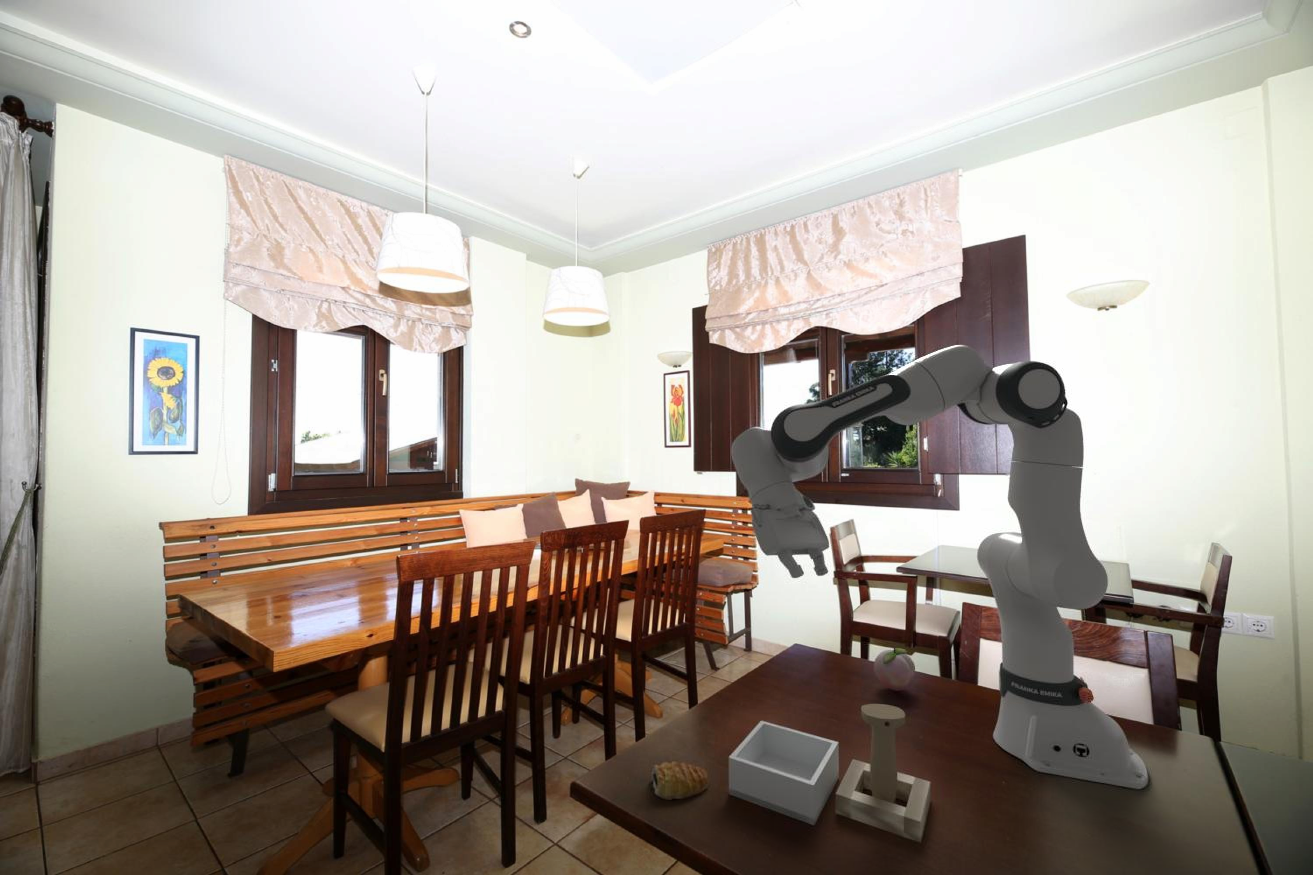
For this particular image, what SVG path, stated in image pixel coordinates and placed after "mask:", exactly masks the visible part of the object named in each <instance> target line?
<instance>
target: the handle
mask: <svg viewBox="0 0 1313 875" xmlns="http://www.w3.org/2000/svg"><path fill="white" fill-rule="evenodd" d="M860 708H861V709H860V710H861V711H860V714H861V718H862V719H863V721H864V722H865V723H867V724H868V725H870V727H871V741H870V742H871V743H870V757H869V758H870V761H869V764H870V781H871V789H872V790H871V793H872V794H871V796H872V797H875V798H878V799H881V800H884V801H887V802H891V803H894V804H897V802H896V799H897V798H896V793H897V772H898V767H897V764H898V763H897V752H896V736H895V734H896V729H897V728H899V727H902V726H904V725H905V724H906V713H905V711H904V710H903V709H901V708H900V707H897V706H894V705H890V704H886V703H885V704H883V703H868V704H864V705H862V706H861V707H860Z"/></svg>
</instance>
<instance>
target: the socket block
mask: <svg viewBox="0 0 1313 875" xmlns="http://www.w3.org/2000/svg"><path fill="white" fill-rule="evenodd" d="M864 789H866V790H870V791H872V789H871V781H870V763H867V762H865V761H861V760H858V759H854V758H853V759H852V760H851V762H850V763H849V766H848V768H847V770H846V771H845V774H844V776H843V778H842V779H841V782H840V783H839V786H838V788H837V790H836V792H835V814H837V815H840V816H843V817H845V818H849V819H852V820H854V821H858V822H860V823H863V824H866V825H868V826H871V827H874V828H877V829H880V830H883V831H885V832H886V831H887V832H888V833H891V834H895V835H897V836H901V837H903V838H906V839H909V840H911V841H914V842H917V843H920V844H921V843H922V840H923V835H924V831H925V828H926V823H927V822H926V821H927V818H928V813H929V808H930V804H931V798H932V797H931V781H930V780H927V779H922V778H919V777H916V776H912V775H909V774H905V773H903V772H898V771H897V793H896V798H895V799H899V800H900V801H904V802H907V804H906V806H904V805H903V806H902V805H899V804H897V803H896V804H894V803H891V802H887V801H884V800H881V799H878V798H875V797H872V795H868V794H865V793H862V792H863V790H864Z"/></svg>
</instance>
